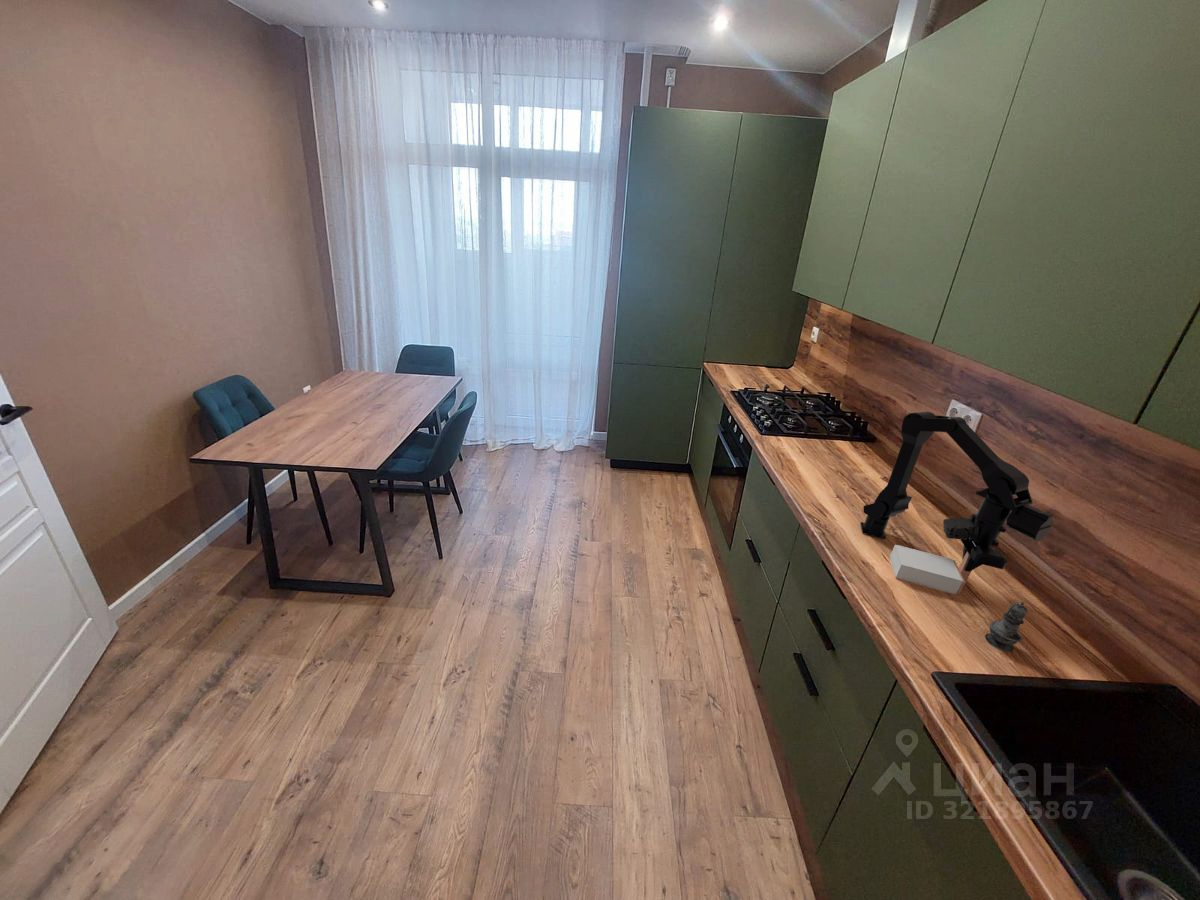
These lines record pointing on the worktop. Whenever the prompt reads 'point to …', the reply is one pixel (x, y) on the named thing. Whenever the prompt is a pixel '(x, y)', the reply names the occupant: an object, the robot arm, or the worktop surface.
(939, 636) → the worktop surface
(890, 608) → the worktop surface
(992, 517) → the robot arm
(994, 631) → the grey figurine
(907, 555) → the sleeve
